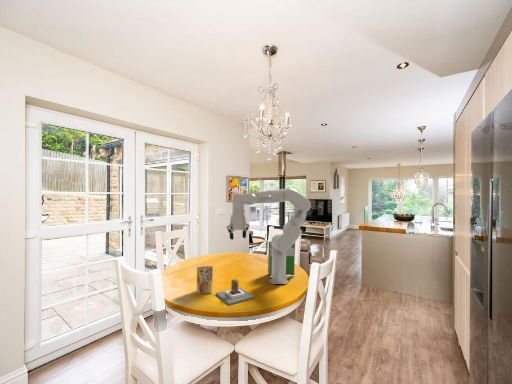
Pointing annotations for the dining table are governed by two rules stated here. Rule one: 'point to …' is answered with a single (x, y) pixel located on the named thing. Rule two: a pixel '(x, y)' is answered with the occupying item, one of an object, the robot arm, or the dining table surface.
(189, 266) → the dining table surface
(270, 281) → the robot arm
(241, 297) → the board
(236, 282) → the walnut pin
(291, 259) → the hardback book
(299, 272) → the dining table surface
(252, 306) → the dining table surface
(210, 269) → the candy box
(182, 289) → the dining table surface
